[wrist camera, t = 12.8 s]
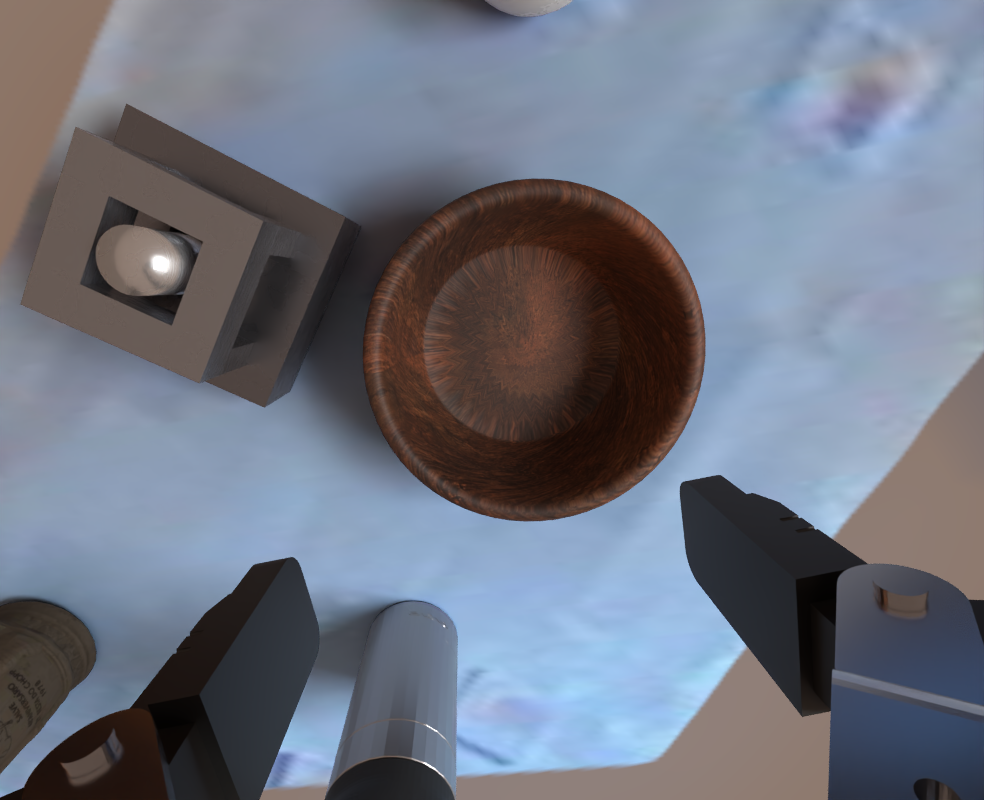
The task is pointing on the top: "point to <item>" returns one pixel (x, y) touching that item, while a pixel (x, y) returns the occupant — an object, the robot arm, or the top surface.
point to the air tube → (146, 260)
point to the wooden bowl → (534, 349)
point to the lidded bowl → (528, 6)
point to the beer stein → (37, 669)
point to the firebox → (217, 271)
